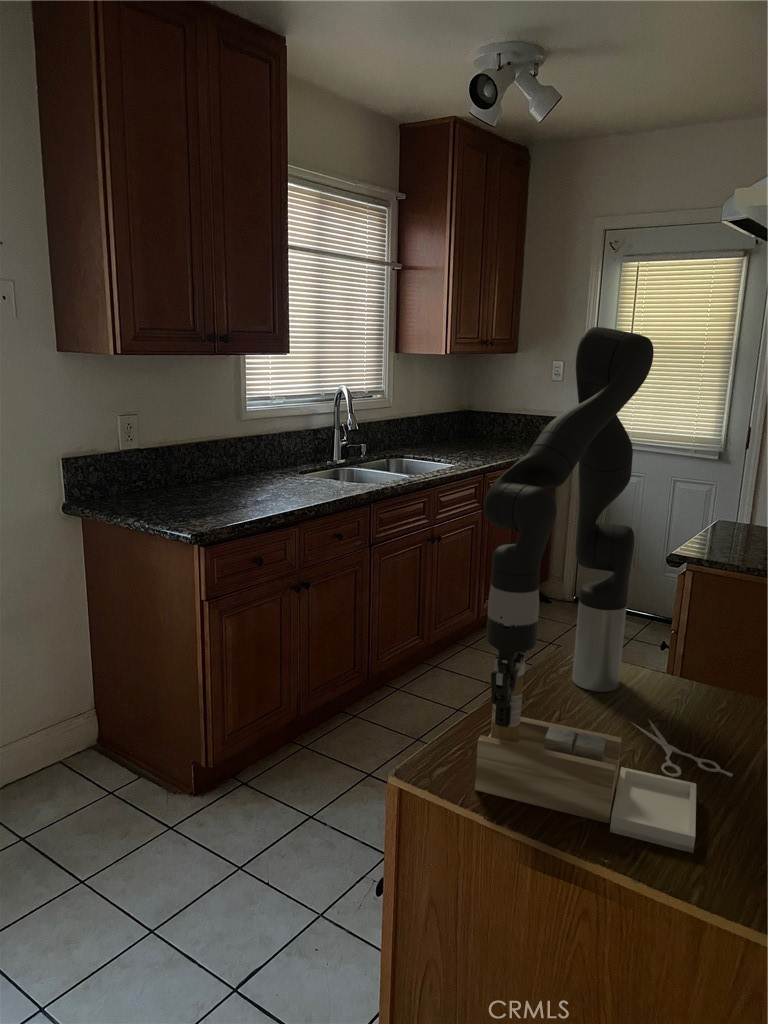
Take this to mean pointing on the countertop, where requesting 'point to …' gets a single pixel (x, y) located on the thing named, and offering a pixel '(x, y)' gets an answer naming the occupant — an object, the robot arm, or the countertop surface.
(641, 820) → the tray
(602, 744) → the dark grey cube
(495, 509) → the robot arm
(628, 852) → the countertop surface
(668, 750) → the scissors
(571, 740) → the grey cube
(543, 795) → the channel
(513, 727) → the sprinkles bottle
